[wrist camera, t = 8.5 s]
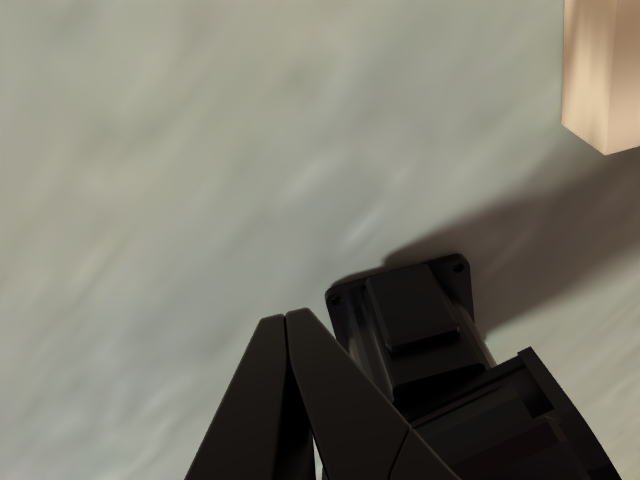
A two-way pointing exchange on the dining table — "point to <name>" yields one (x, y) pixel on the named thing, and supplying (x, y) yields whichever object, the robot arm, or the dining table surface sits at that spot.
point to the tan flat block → (602, 73)
